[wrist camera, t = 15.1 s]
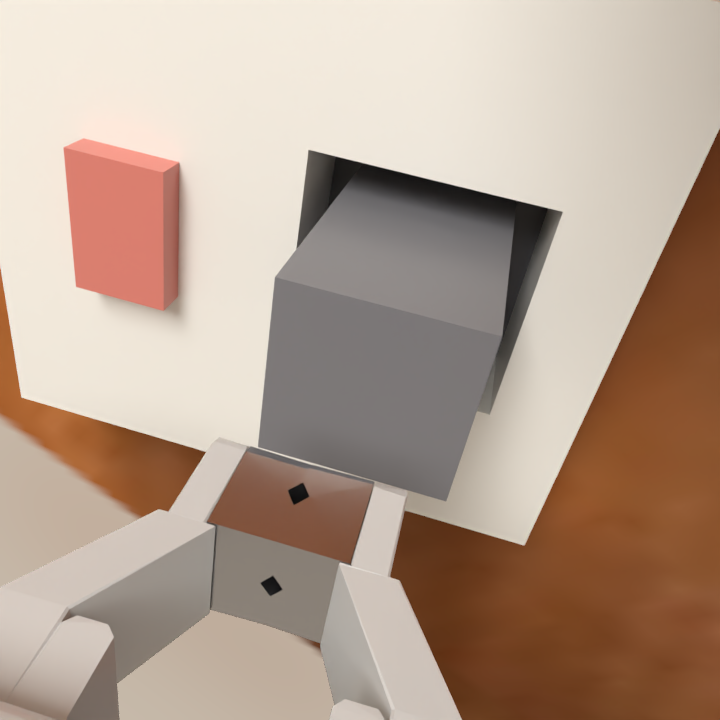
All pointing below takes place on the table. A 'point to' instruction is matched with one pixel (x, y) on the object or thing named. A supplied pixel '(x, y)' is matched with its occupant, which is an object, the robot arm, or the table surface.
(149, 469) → the table surface
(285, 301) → the plug
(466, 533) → the table surface
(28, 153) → the socket plate
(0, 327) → the table surface
